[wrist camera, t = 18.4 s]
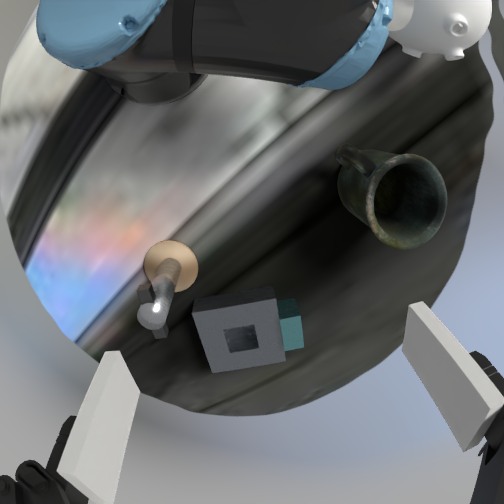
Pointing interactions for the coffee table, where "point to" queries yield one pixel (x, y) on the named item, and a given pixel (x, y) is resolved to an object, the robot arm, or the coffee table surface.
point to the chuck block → (247, 328)
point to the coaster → (177, 252)
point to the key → (158, 297)
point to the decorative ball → (439, 25)
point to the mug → (392, 194)
